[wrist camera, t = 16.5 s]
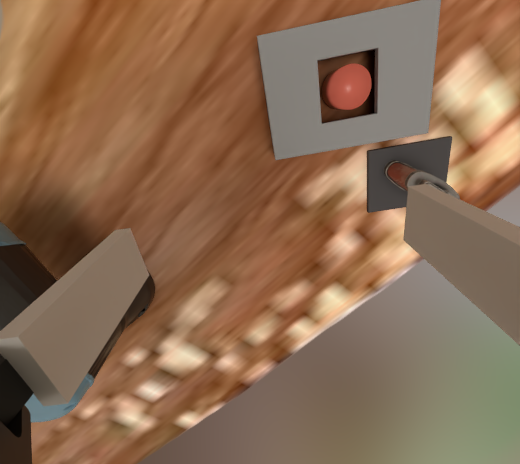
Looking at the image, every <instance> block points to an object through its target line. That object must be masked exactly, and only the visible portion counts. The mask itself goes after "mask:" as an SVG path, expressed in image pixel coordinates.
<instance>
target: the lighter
mask: <svg viewBox="0 0 520 464" xmlns="http://www.w3.org/2000/svg"><path fill="white" fill-rule="evenodd" d="M384 175H385V176H386V177H387V178H388V179H389V180H390V181H391V182H393V183H394V184H395V185H397V186H398V187H399V188H401V189H403V190H405V191H407V192H408V186H415V185H422V184H427V185H429V186H431V187H433V188H436V189H438V190H440V191H442V192H444V193H446V194H449V195H451V196H453V197H455V198H457V199H459V200H460V197H459V195H458V194H457V193H456V191H455V190H454V189H453V188H452V187H451V186H449V185H448V184H447V183H446V182H444V181H443V180H441V179H439V178H437V177H435V176H433V175H431V174H428V173H426V172H424V171H421V170H417V169H415V168H413V167H411V166H409V165H407V164H405V163H402V162H399V161H396V160H392V161H390V162H388V163H387V164H386V166H385V167H384Z"/></svg>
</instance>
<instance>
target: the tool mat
mask: <svg viewBox="0 0 520 464" xmlns="http://www.w3.org/2000/svg"><path fill="white" fill-rule="evenodd" d="M451 143H452V137H451V136H449V137H443V138H437V139H432V140H426V141H420V142H414V143H409V144H403V145H397V146H392V147H386V148H380V149H375V150H369V151H367V212H368V213H370V212H376V211H382V210H389V209H395V208H402V207H407V196H408V192H407V191H405V190H403V189H401V188H399V187H398V186H397V185H395V184H394V183H393V182H391V181H390V180H389V179H388V178H387V177H386V176H385V175H384V167H385V166H386V164H387V163H388V162H390V161H392V160H396V161H399V162H402V163H405V164H407V165H409V166H411V167H413V168H415V169H417V170H421V171H424V172H426V173H428V174H431V175H433V176H435V177H437V178H439V179H441V180H443V181H444V182H446V180H447V172H448V165H449V158H450V150H451Z"/></svg>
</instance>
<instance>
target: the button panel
mask: <svg viewBox="0 0 520 464" xmlns="http://www.w3.org/2000/svg"><path fill="white" fill-rule="evenodd" d="M440 3H441V0H420V1H416V2H411V3H406V4H402V5H397V6H393V7H388V8H384V9H379V10H374V11H370V12H365V13H361V14H356V15H351V16H347V17H342V18H338V19H333V20H328V21H324V22H319V23H315V24H310V25H305V26H301V27H296V28H292V29H287V30H283V31H278V32H273V33H269V34H264V35H260V36H257V41H258V50H259V57H260V63H261V70H262V77H263V83H264V90H265V97H266V103H267V110H268V117H269V124H270V130H271V137H272V144H273V150H274V156H275V160H280V159H285V158H291V157H296V156H302V155H308V154H313V153H319V152H324V151H330V150H336V149H341V148H347V147H353V146H358V145H364V144H369V143H375V142H381V141H386V140H392V139H398V138H403V137H409V136H414V135H420V134H426V133H428V129H429V119H430V108H431V98H432V87H433V77H434V66H435V56H436V45H437V35H438V24H439V14H440ZM374 49H375V105H374V113H373V114H368V115H362V116H357V117H351V118H346V119H341V120H335V121H330V122H325V123H322V121H321V107H320V92H319V78H318V63H317V61H320V60H325V59H330V58H335V57H340V56H345V55H349V54H354V53H359V52H364V51H369V50H374Z"/></svg>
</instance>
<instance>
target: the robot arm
mask: <svg viewBox="0 0 520 464" xmlns="http://www.w3.org/2000/svg"><path fill="white" fill-rule="evenodd" d="M404 241H405V242H406V243H408V244H409V245H410V246H411V247H412V248H413V249H414V250H415V251H416V252H417V253H419V254H420V255H421V256H422V257H423V258H424V259H425V260H426V261H427V262H428V263H430V264H431V265H432V266H433V267H434V268H435V269H436V270H437V271H438V272H440V273H441V274H442V275H443V276H444V277H445V278H446V279H447V280H448V281H449V282H451V283H452V284H453V285H454V286H455V287H456V288H457V289H458V290H459V291H460V292H462V293H463V294H464V295H465V296H466V297H467V298H468V299H469V300H470V301H471V302H472V303H474V304H475V305H476V306H477V307H478V308H479V309H480V310H481V311H482V312H484V313H485V314H486V315H487V316H488V317H489V318H490V319H491V320H492V321H493V322H495V323H496V324H497V325H498V326H499V327H500V328H501V329H502V330H503V331H504V332H505V333H507V334H508V335H509V336H510V337H511V338H512V339H513V340H514V341H515V342H516V343H518V344H519V345H520V227H518V226H516V225H514V224H511V223H509V222H507V221H505V220H503V219H501V218H499V217H496V216H494V215H492V214H490V213H488V212H486V211H483V210H481V209H479V208H477V207H475V206H472V205H470V204H468V203H466V202H464V201H462V200H459V199H457V198H455V197H453V196H451V195H449V194H446V193H444V192H442V191H440V190H438V189H436V188H433V187H431V186H429V185H427V184H422V185H415V186H408V196H407V207H406V218H405V229H404ZM154 293H155V287H154V283H153V280H152V278H151V276H150V274H149V273H148V271H147V268H146V266H145V263H144V261H143V258H142V256H141V253H140V251H139V248H138V246H137V243H136V241H135V239H134V236H133V234H132V231H131V229H130V228H127V229H120V230H115V231H114V232H112V233H111V234H110V235H109V236H108V237H107V238H106V239H104V240H103V241H102V242H101V243H100V244H99V245H98V246H97V247H95V248H94V249H93V250H92V251H91V252H90V253H89V254H87V255H86V256H85V257H83V258H82V259H81V260H80V261H79V262H78V263H76V264H75V265H74V266H73V268H72V269H70V270H69V271H68V272H67V273H66V274H65V275H64V276H62V277H61V278H60V279H59V280H58V281H57V280H56V279H55V278H54V277H53V276H52V275H51V274H50V272H49V271H48V270H47V269H46V268H45V267H44V266H43V264H42V263H41V262H40V261H39V260H38V259H37V258H36V257H35V255H34V254H33V253H32V252H31V251H30V250H29V249H28V247H27V246H26V243H25V242H24V241H21V240H20V239H19V238H18V237H17V236H16V235H15V234H14V233H13V232H12V231H11V230H10V229H9V228H8V227H7V226H6V225H5V224H3V223H2V222H0V464H32V450H31V422H44V421H50V420H54V419H57V418H60V417H62V416H64V415H66V414H67V413H69V412H70V411H72V410H73V409H74V408H75V407H76V405H77V404H78V403H79V401H80V400H81V399H82V397H83V396H84V394H85V393H86V391H87V390H88V389H89V387H91V386H92V384H93V382H94V379H95V377H96V375H97V374H98V372H99V370H100V369H101V367H102V365H103V364H104V362H105V360H106V359H107V357H108V355H109V354H110V352H111V350H112V349H113V347H114V345H115V344H116V342H117V340H118V339H119V337H120V335H121V334H122V332H123V330H124V329H125V328H127V327H128V326H129V325H130V324H131V323H133V322H134V321H135V320H136V319H138V318H139V317H140V316H141V315H142V314H144V313H145V311H146V310H147V309H148V307H149V305H150V304H151V302H152V300H153V298H154Z"/></svg>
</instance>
